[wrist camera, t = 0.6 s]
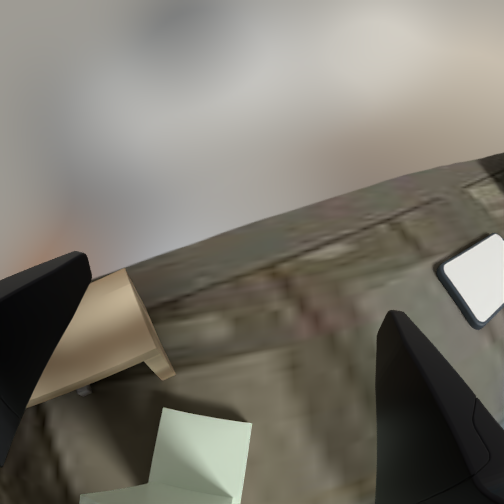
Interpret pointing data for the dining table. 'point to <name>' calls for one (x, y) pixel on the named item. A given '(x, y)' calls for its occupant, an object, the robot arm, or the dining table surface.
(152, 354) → the beige u-shaped channel
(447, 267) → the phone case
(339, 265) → the dining table surface
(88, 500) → the sage green flanged block
